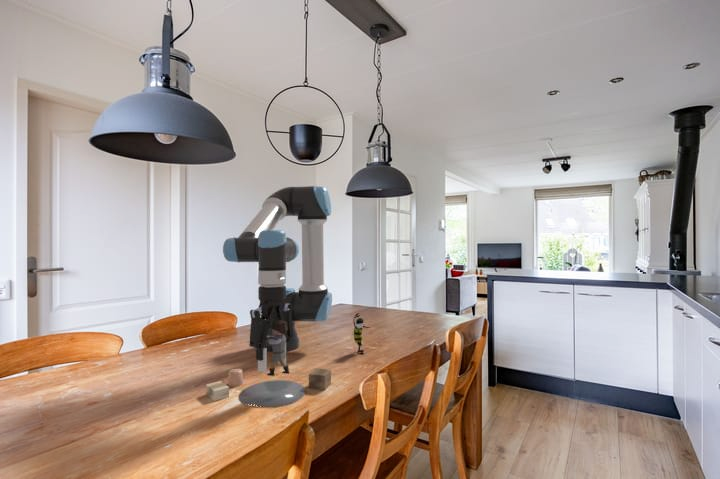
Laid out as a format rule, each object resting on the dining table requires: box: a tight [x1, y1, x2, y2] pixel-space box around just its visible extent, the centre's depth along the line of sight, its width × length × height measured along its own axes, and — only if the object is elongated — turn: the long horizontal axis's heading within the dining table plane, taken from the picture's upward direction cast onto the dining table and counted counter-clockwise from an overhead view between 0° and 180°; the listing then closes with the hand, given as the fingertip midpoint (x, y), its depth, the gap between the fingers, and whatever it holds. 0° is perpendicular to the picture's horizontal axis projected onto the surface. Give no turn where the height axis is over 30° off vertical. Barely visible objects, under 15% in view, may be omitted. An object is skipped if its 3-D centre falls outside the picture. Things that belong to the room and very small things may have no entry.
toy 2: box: [350, 312, 371, 355], centre depth 144 cm, size 7×8×15 cm
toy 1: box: [266, 320, 290, 377], centre depth 103 cm, size 8×10×15 cm
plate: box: [238, 379, 306, 408], centre depth 104 cm, size 18×18×1 cm
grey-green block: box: [205, 380, 230, 402], centre depth 102 cm, size 6×4×4 cm, turn 42°
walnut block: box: [308, 368, 332, 391], centre depth 109 cm, size 5×5×5 cm
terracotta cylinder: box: [227, 368, 244, 388], centre depth 110 cm, size 4×4×5 cm
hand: (272, 367), depth 104 cm, fingers open, 6 cm apart
